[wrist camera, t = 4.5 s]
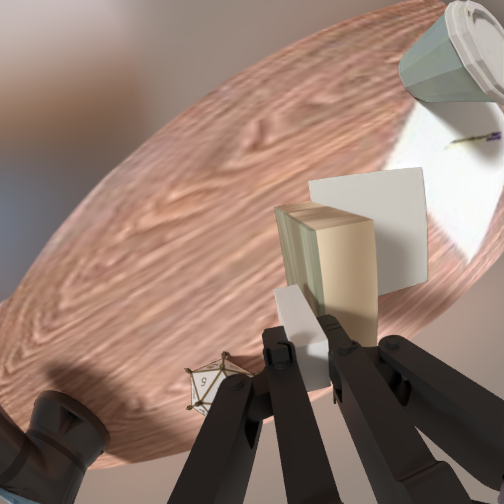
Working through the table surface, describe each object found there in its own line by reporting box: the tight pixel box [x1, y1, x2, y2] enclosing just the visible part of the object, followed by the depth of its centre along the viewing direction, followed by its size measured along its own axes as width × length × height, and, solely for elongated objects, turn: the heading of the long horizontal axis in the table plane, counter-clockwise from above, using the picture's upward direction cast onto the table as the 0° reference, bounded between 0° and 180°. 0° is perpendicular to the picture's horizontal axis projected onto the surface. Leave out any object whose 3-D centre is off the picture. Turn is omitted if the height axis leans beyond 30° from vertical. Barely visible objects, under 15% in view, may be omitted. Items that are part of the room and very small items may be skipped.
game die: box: [184, 352, 262, 416], centre depth 28 cm, size 9×8×10 cm
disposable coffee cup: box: [398, 0, 504, 105], centre depth 17 cm, size 11×11×15 cm
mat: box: [308, 167, 427, 296], centre depth 28 cm, size 14×14×1 cm
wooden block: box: [274, 201, 378, 381], centre depth 22 cm, size 4×10×14 cm, turn 11°
